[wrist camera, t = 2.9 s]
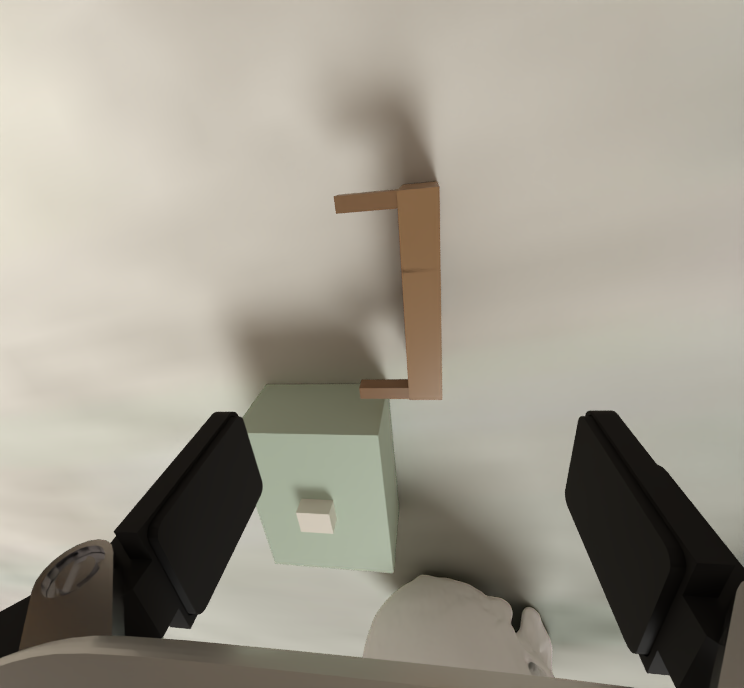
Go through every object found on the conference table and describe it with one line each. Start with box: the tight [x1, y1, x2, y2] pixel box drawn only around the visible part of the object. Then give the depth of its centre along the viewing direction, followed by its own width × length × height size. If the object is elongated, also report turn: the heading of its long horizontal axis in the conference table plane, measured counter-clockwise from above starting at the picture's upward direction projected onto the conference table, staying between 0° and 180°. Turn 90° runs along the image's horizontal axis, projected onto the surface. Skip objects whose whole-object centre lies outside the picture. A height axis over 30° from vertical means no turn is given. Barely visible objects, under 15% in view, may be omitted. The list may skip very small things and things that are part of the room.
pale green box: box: [243, 384, 399, 573], centre depth 29 cm, size 14×10×7 cm
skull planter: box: [362, 575, 555, 678], centre depth 34 cm, size 14×20×19 cm
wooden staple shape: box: [334, 181, 442, 400], centre depth 22 cm, size 12×5×5 cm, turn 5°
